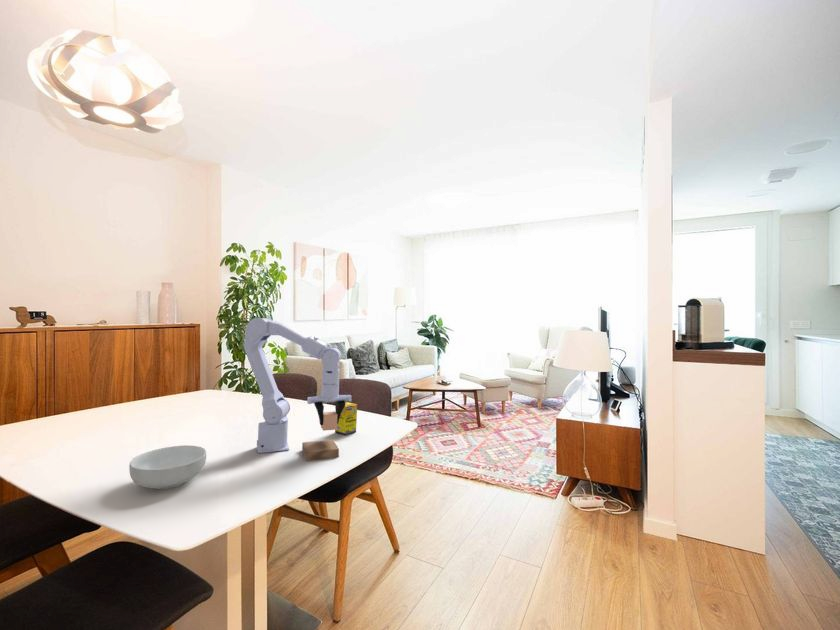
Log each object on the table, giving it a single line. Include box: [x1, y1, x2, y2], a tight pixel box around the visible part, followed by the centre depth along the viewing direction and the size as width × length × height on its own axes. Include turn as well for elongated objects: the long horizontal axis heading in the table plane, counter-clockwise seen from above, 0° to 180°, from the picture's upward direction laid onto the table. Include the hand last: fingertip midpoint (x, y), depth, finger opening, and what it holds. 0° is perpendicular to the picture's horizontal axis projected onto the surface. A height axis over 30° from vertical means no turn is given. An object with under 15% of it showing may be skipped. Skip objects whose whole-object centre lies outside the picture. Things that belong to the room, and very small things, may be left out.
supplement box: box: [334, 401, 358, 436], centre depth 146 cm, size 6×6×11 cm
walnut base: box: [301, 439, 340, 462], centre depth 122 cm, size 10×10×2 cm
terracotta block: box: [320, 410, 337, 432], centre depth 127 cm, size 4×4×5 cm
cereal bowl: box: [128, 445, 207, 490], centre depth 98 cm, size 17×17×7 cm
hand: (328, 423), depth 127 cm, fingers closed on terracotta block, 4 cm apart
